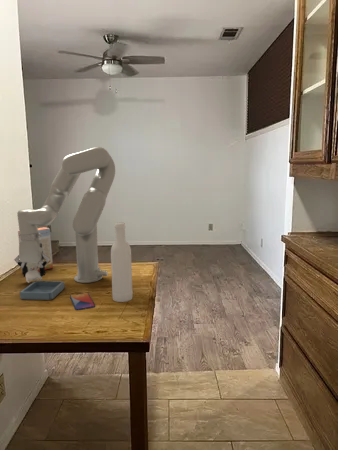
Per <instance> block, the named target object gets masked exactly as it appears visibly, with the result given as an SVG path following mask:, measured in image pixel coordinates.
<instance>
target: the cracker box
mask: <svg viewBox="0 0 338 450" xmlns="http://www.w3.org/2000/svg"><path fill="white" fill-rule="evenodd" d="M38 232H39V234H41V237H39V239H41V241H42V244H43V247H44V252H45V254H46V255H47V256H49V257H50V260H49V261H48V263H47V264H46V265H45V271H46V270H50V269H53V268H54V264H53V250H52V240H51V239H52V238H51V229H50V228H49V227H46V226H44V227H43V226H42V227H38ZM17 237H18V243H19V242H20V241H21V239H20V231H19V230H18V231H17ZM45 260H46V259H44V260H43V261H44V262H45ZM26 266H27V267H28V272H29V271H33V270H37V271H39V272H40V269H39V268H40V265H39V264H38V262H36V263H27V264H26Z"/></svg>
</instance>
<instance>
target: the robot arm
mask: <svg viewBox="0 0 338 450" xmlns="http://www.w3.org/2000/svg"><path fill="white" fill-rule="evenodd" d="M93 170H95V173H94V176H93V178H92V181H91V184H90V185H89V188H88V190H87V191H86V192H85V193H84V195H83V197H82V198H81V201H80V204H79V206H78V208H77V211H76V213H75V216H74V218H73V220H72V229H73V231H74V233H75V253H76V268H77V269H76V270H77V274H76V275H75V276H74V281H75V282H77V283H83V284H87V283H90V284H91V283H95V282H98V281H100V280H102V279H103V277H108V275H109V273H108V271H107V270H101V267H99V250H98V222H99V219H100V218H101V215H102V213H103V210H104V208H105V206H106V202H107V197H108V195H109V192H110V189H111V187H112V186H113V182H114V179H115V175H116V165H115V162H114V159H113V156H111V154H110V153H109V152H108V150H107V149H105V148H104V147H102V146H95V147H92V148H89V149H86V150H82V151H79V152H75V153H70V154H68V155H66V156H64V158H63V159H62V161H61V166H60V169H59V170H58V172H57V173H56V175H55V178H54V179H52V183H51V184H50V190H49V193H48V196H47V198H46V199H45V201H44V203H43V205H42V206H41V208H39V209H33V208H24V209H19V210H18V211H17V212H16V213H17V216H16V217H17V222H18V229H19V230H18V231H20V239H21V241H20V242H19V241H18V255H17V256H16V257H15V258H14V259H13V261H15V263H17V265H18V266H19V268H20V269H21V272H22V275H23V278H24V277H25V278H26V276H25V275H26V273H27V272H28V267H27V266H26V264H27V263H36V262H38V264H39V265H40V268H39V269H40V271H39V272H40V276H42V277H44V276H45V274H46V270H45V265H46V264H47V263H48V261H49V260H50V257H49V256H47V255H46V254H45V252H44V247H43V244H42V241H41V239H39V237H41V234H39V232H38V228H39V227H38V226H42V227H43V226H44V227H46V226H49V225H50V224H52V222H54V220H55V219H56V217H58V216H57V215H58V214H59V213H60V211H61V209H62V207H63V205H64V203H65V202H66V200H67V198H68V197H69V195H70V193H72V190H73V188H74V186H75V184H76V183H77V181H78V179H79V178H80V176H81V174H83V173H84V174H85V173H88V172H90V171H93ZM44 259H46V260H45V262H44V261H43V260H44Z"/></svg>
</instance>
